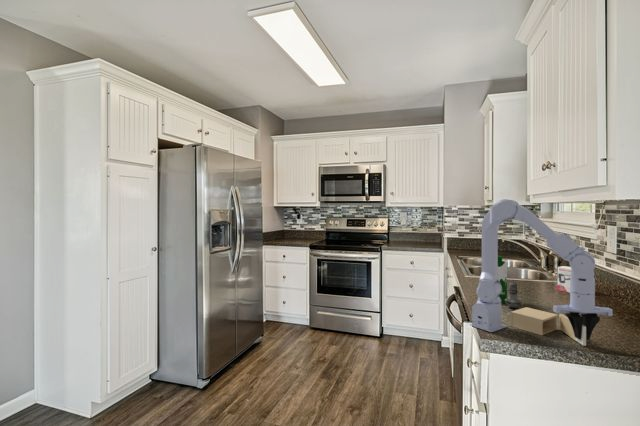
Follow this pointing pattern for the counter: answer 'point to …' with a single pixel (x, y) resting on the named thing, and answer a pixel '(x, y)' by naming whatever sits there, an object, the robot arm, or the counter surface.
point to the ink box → (563, 278)
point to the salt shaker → (512, 297)
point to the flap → (571, 329)
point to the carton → (534, 320)
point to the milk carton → (502, 278)
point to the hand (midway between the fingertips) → (582, 338)
